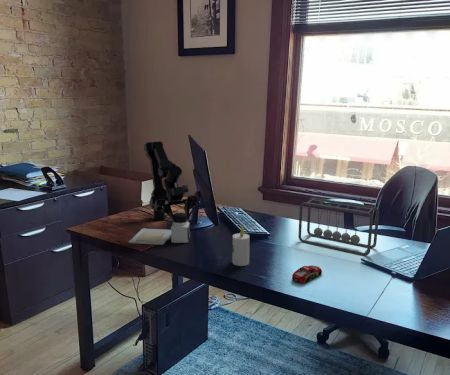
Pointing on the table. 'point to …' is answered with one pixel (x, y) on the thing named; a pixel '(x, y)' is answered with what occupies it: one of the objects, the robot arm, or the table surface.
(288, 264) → the table surface
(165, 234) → the board
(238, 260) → the candle
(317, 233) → the newton's cradle
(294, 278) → the race car
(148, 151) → the robot arm
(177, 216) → the medicine bottle
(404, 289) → the table surface
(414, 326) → the table surface
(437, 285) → the table surface
